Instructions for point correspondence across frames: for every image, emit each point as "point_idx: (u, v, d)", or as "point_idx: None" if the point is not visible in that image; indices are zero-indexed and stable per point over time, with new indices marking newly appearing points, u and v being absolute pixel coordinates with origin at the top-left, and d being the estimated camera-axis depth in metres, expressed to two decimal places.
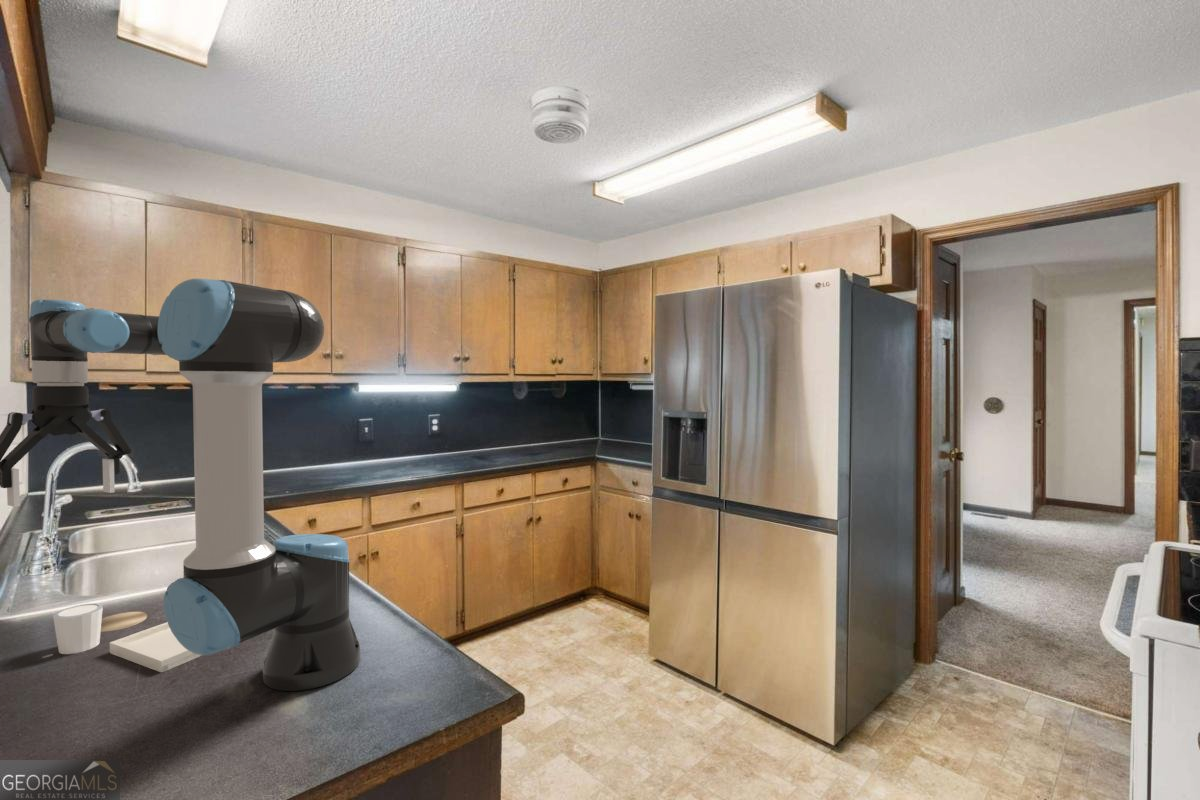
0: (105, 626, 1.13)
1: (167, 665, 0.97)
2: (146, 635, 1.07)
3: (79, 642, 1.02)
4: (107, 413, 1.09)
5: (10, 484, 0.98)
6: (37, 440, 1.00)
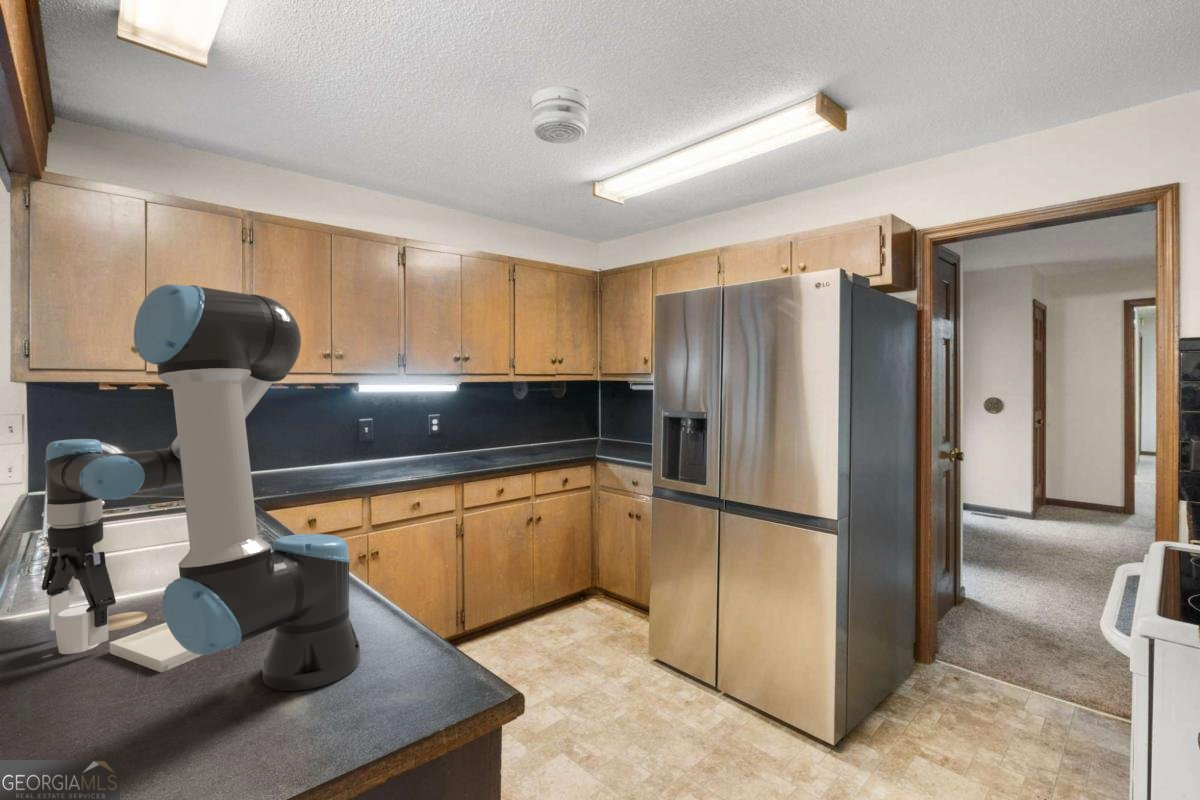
0: None
1: (167, 665, 0.97)
2: (146, 635, 1.07)
3: (79, 642, 1.02)
4: (87, 560, 1.00)
5: None
6: (58, 574, 1.05)
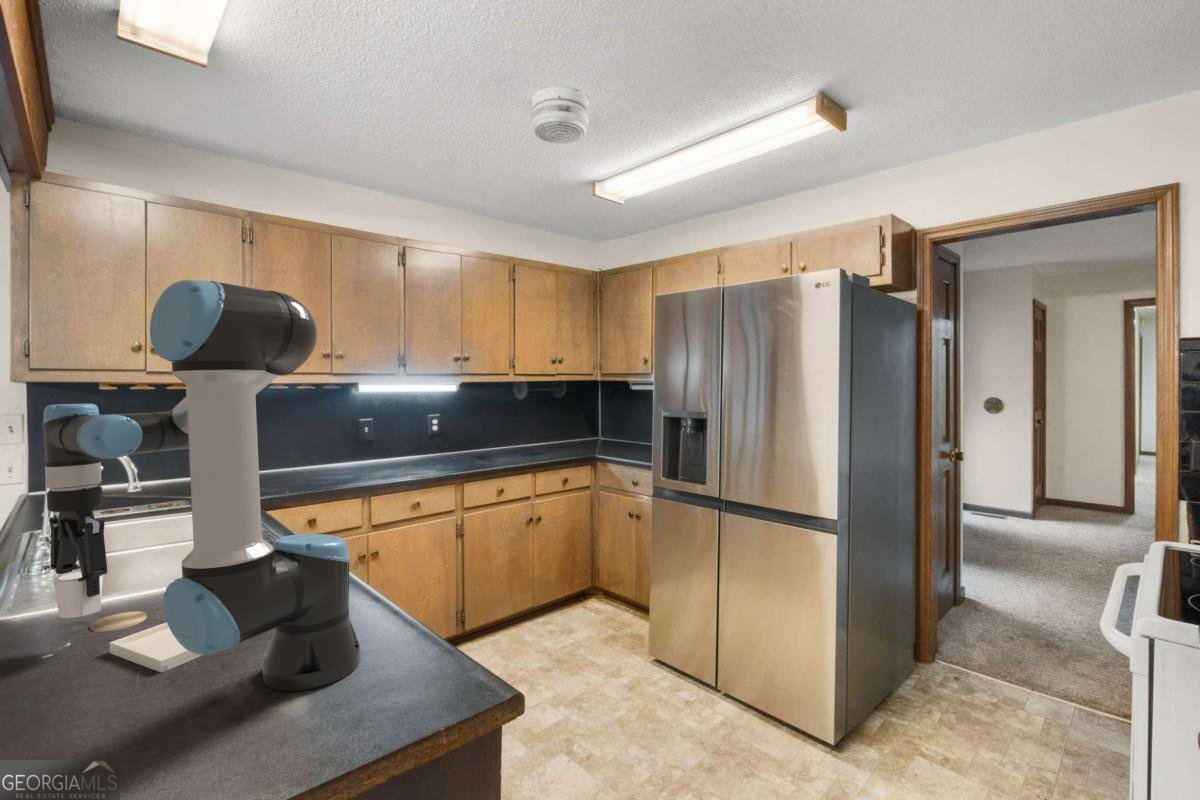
0: (105, 626, 1.13)
1: (167, 665, 0.97)
2: (146, 635, 1.07)
3: (80, 606, 1.02)
4: (86, 528, 1.00)
5: None
6: (62, 544, 1.04)
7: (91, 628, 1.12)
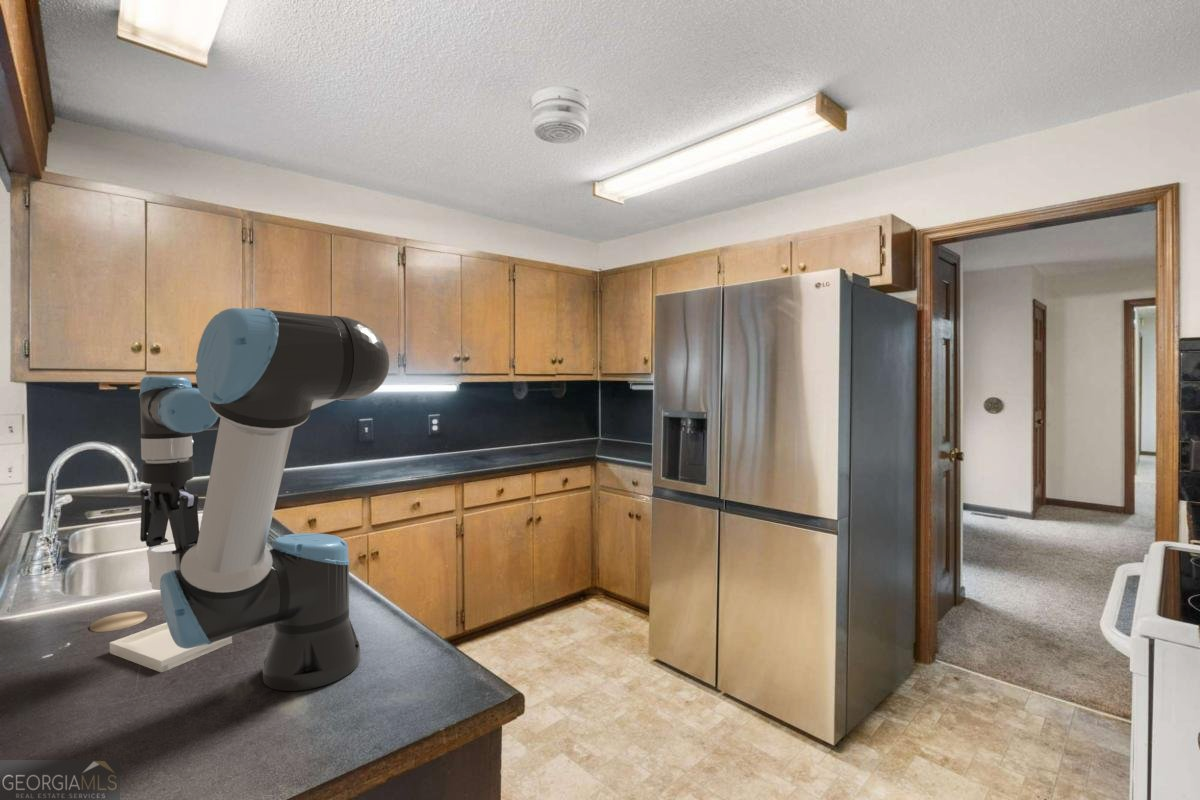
0: (104, 626, 1.13)
1: (167, 665, 0.97)
2: (146, 635, 1.07)
3: None
4: (182, 501, 1.00)
5: None
6: (154, 516, 1.03)
7: (91, 628, 1.12)
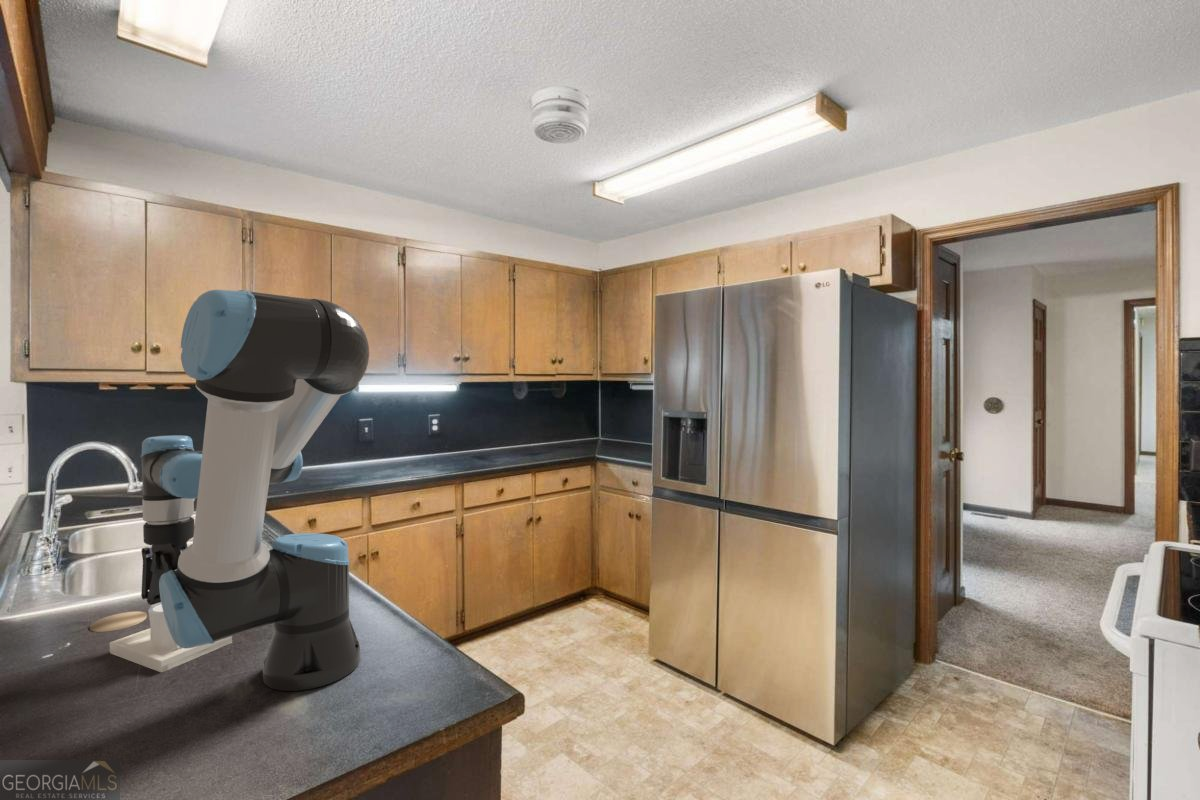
0: (104, 626, 1.13)
1: (167, 665, 0.97)
2: (146, 635, 1.07)
3: None
4: None
5: None
6: (155, 575, 1.04)
7: (91, 628, 1.12)
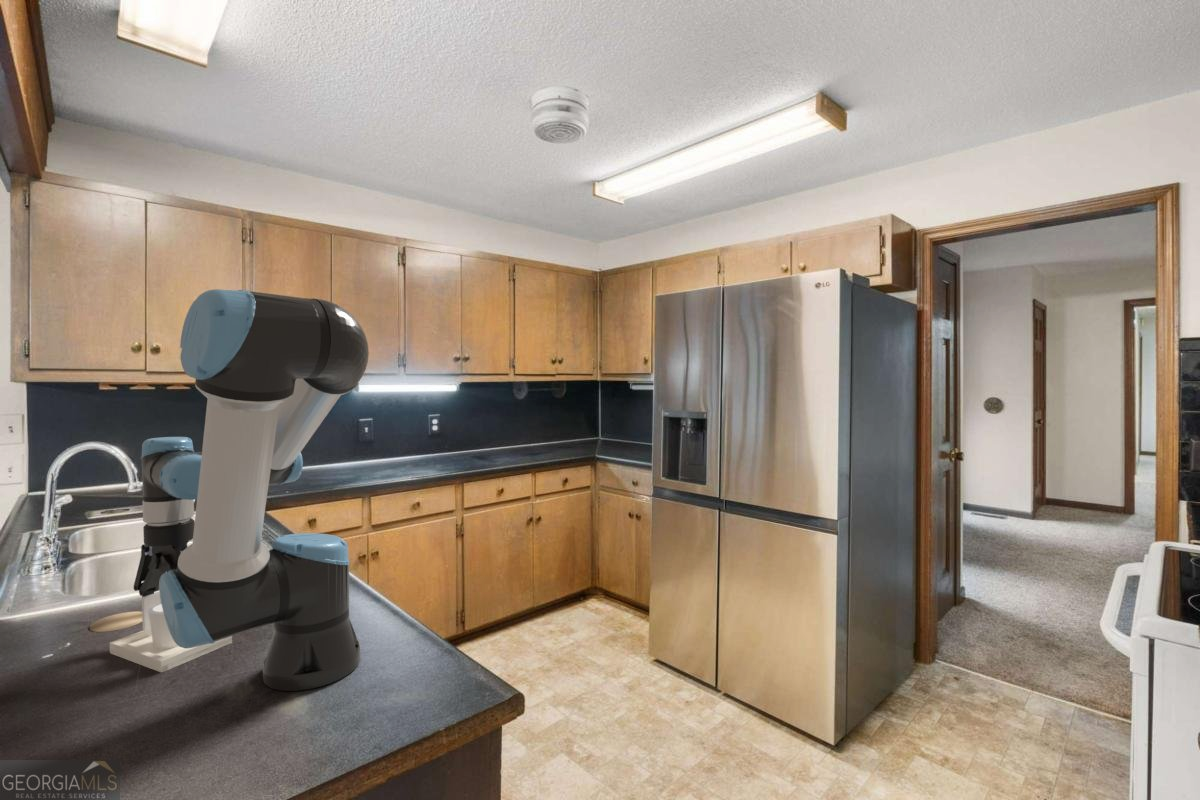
0: (104, 626, 1.13)
1: (167, 665, 0.97)
2: (146, 635, 1.07)
3: None
4: None
5: None
6: (151, 573, 1.04)
7: (91, 628, 1.12)
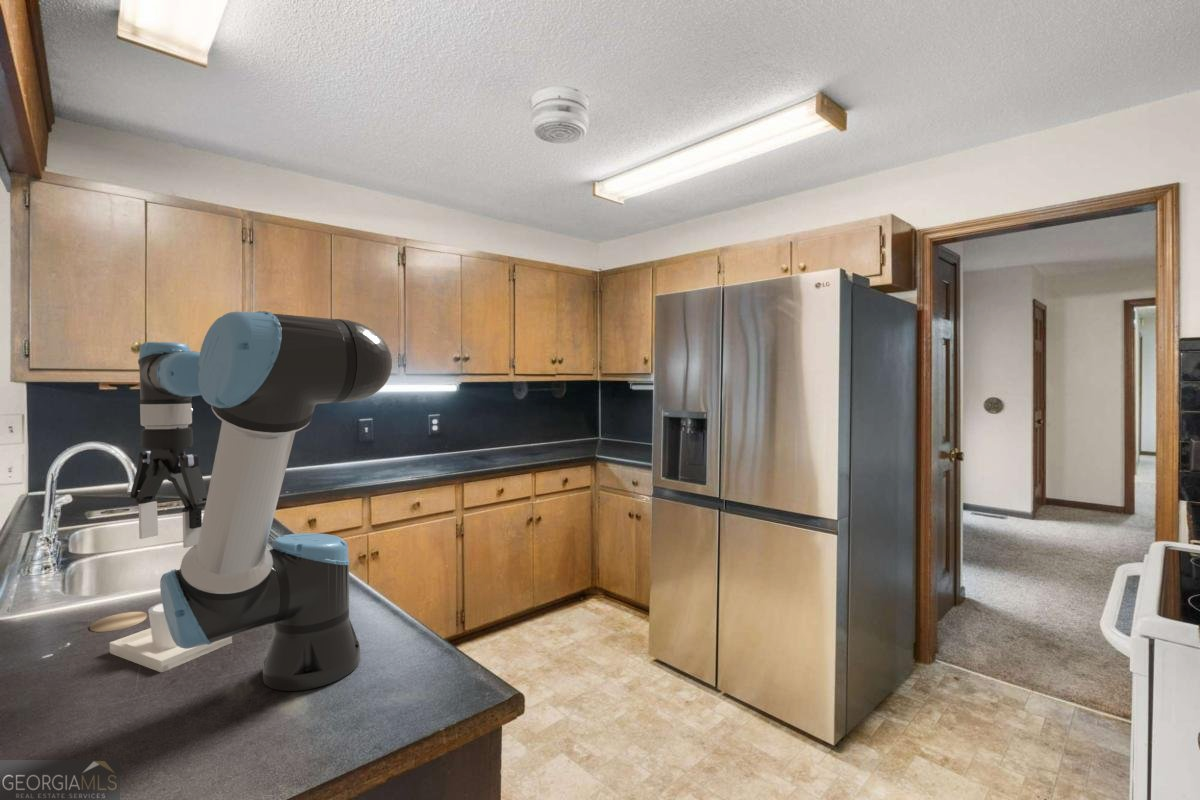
0: (104, 626, 1.13)
1: (167, 665, 0.97)
2: (146, 635, 1.07)
3: None
4: (181, 460, 0.99)
5: None
6: (148, 480, 1.04)
7: (91, 628, 1.12)
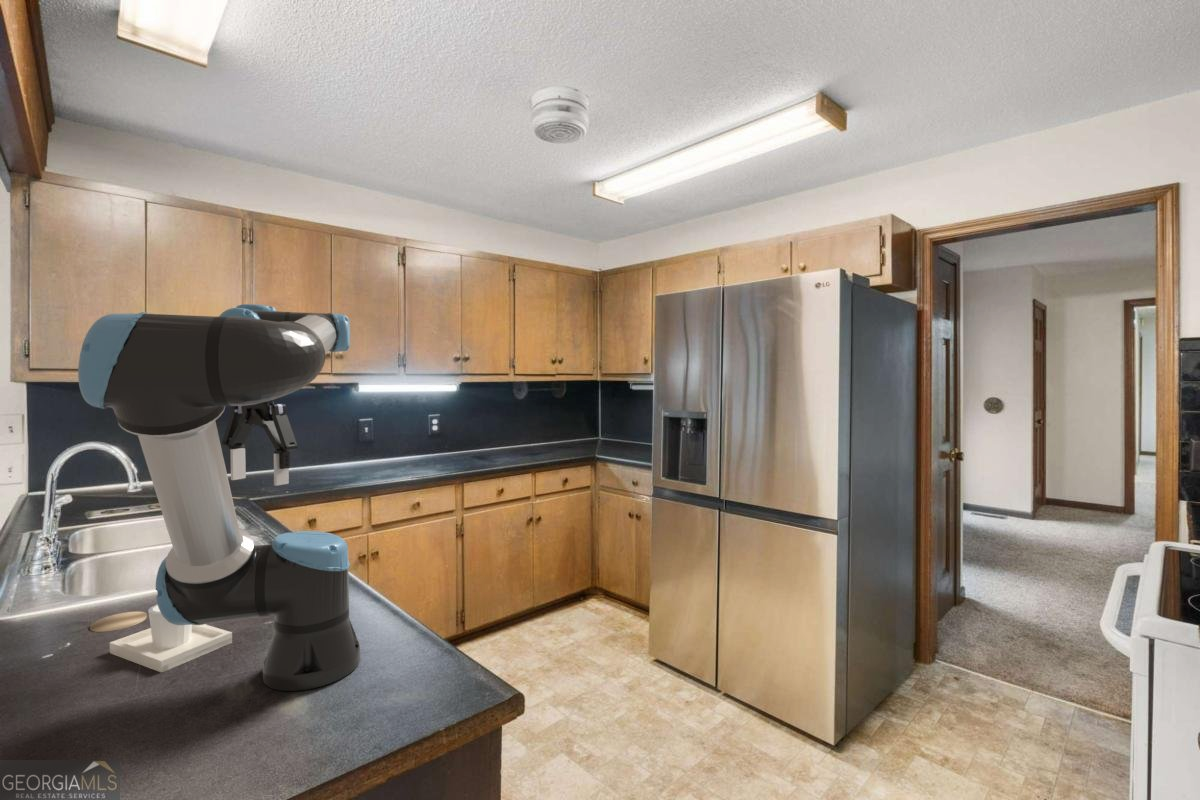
0: (104, 626, 1.13)
1: (167, 665, 0.97)
2: (146, 635, 1.07)
3: (174, 637, 1.02)
4: (273, 408, 1.13)
5: None
6: (240, 427, 1.17)
7: (91, 628, 1.12)
